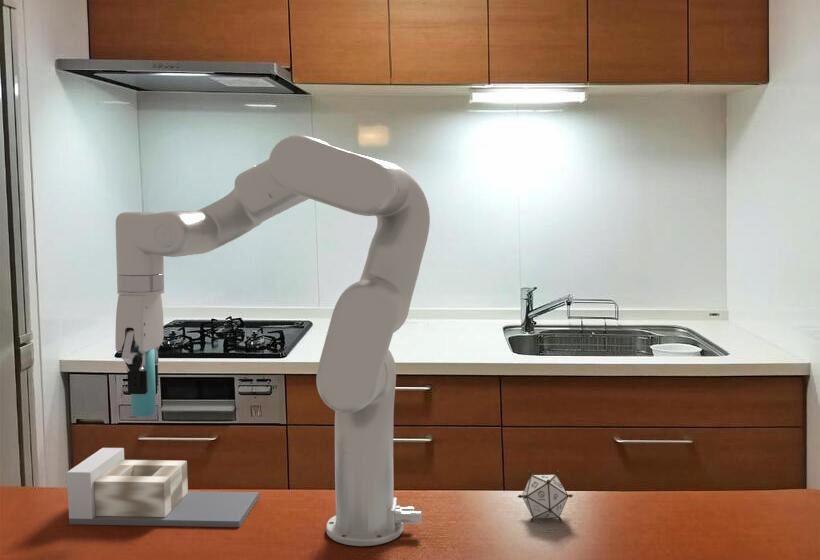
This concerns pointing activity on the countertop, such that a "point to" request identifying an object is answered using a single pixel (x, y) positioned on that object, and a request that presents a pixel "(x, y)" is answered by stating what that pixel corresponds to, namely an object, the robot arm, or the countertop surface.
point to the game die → (545, 496)
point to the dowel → (147, 402)
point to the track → (188, 512)
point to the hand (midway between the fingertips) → (143, 389)
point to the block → (141, 488)
